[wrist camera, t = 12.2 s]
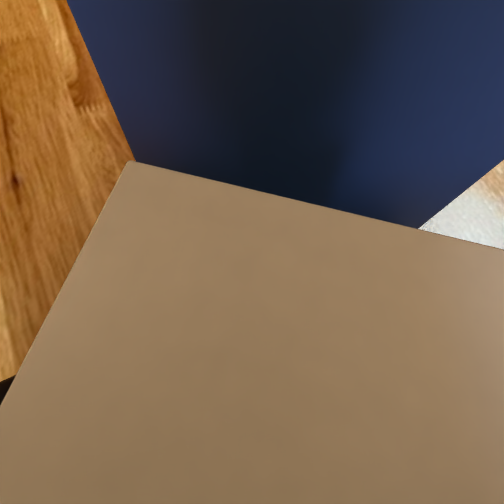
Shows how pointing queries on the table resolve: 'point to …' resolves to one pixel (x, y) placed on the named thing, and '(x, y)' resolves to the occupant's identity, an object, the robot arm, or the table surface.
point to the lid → (309, 95)
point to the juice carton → (260, 359)
